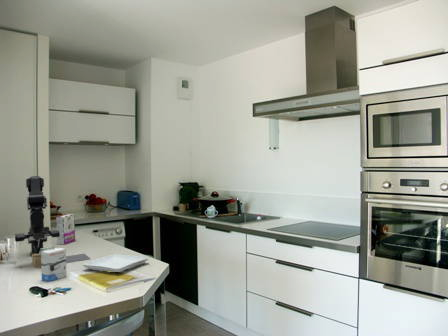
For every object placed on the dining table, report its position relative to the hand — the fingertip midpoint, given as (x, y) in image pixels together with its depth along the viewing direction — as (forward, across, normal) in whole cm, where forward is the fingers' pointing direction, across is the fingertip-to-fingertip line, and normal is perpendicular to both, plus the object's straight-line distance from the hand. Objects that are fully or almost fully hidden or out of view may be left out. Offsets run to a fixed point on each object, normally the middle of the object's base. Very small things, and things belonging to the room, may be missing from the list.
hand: (38, 253), depth 180 cm
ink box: (+5, +3, -29) cm, 30 cm away
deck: (+5, +4, 0) cm, 7 cm away
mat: (+5, +16, +1) cm, 17 cm away
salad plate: (+6, +29, -28) cm, 40 cm away
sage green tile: (+1, +4, 0) cm, 4 cm away
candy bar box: (+5, +20, +44) cm, 49 cm away
